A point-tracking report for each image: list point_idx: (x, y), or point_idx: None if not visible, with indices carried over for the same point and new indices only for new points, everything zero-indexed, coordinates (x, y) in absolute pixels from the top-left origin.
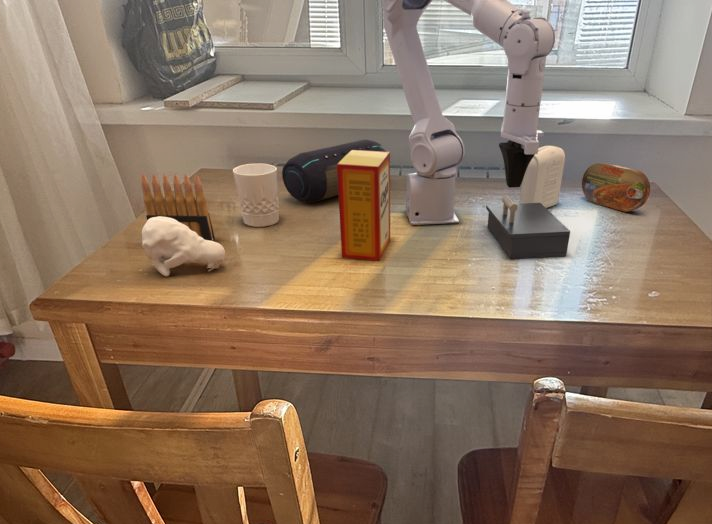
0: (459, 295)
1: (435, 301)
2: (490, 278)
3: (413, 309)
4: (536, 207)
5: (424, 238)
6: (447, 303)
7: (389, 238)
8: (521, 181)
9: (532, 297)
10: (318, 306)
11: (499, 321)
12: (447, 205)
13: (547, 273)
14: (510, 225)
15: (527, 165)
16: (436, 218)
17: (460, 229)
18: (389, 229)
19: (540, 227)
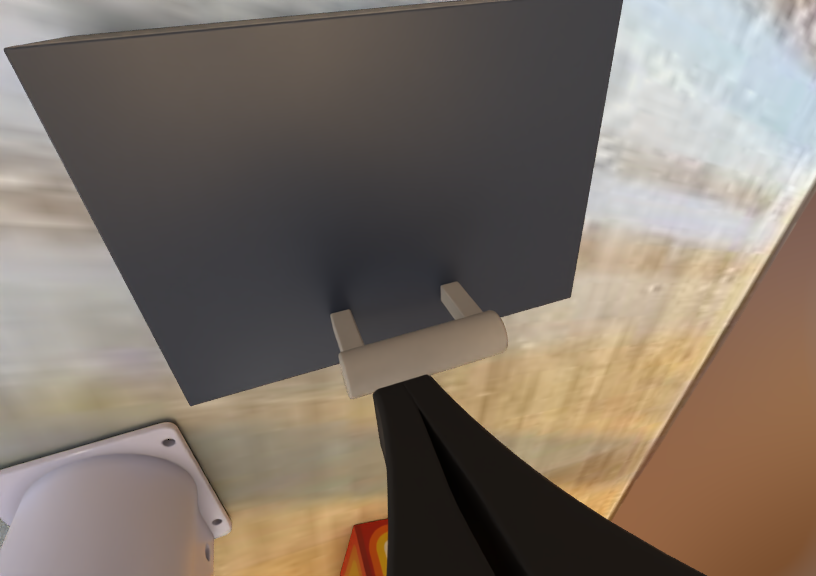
0: (653, 349)
1: (655, 383)
2: (609, 295)
3: (664, 406)
4: (174, 117)
5: (337, 470)
6: (670, 364)
7: (367, 531)
8: (453, 401)
9: (727, 201)
10: (606, 506)
11: (763, 277)
12: (165, 520)
13: (638, 128)
14: (485, 294)
15: (575, 502)
16: (196, 495)
17: (237, 402)
18: (372, 556)
19: (534, 160)
